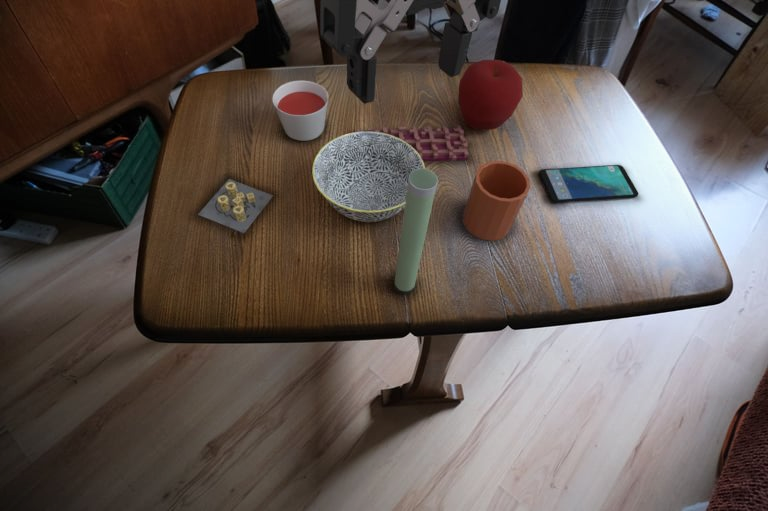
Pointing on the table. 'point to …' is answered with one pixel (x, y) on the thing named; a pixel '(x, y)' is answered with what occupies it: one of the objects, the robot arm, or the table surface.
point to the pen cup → (495, 200)
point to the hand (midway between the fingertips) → (407, 84)
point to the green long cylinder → (414, 227)
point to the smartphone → (587, 183)
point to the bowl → (365, 174)
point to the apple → (489, 94)
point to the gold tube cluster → (236, 205)
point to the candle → (301, 109)
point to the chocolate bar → (433, 142)
